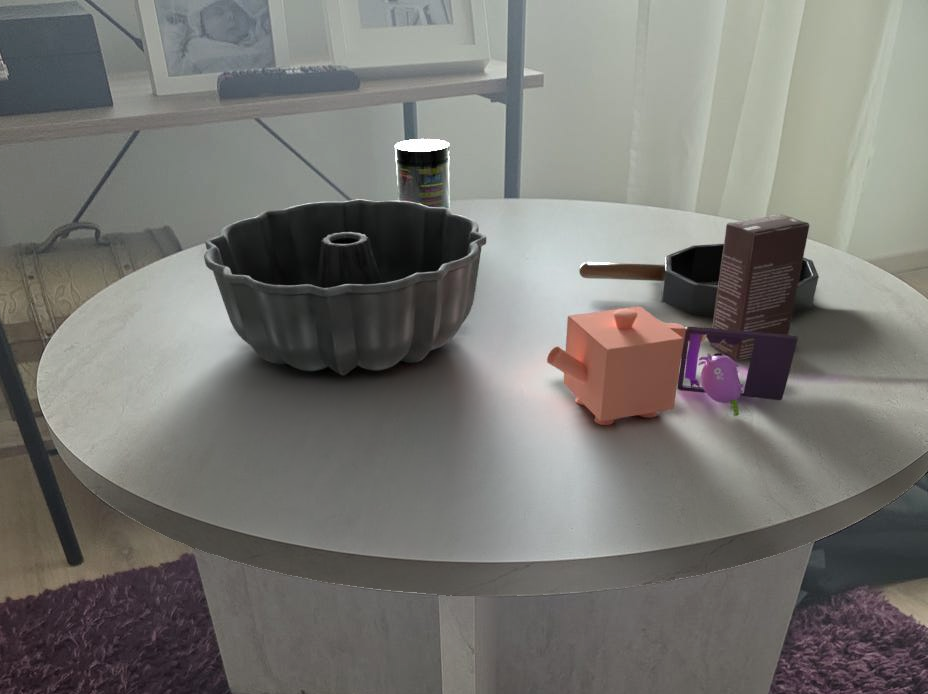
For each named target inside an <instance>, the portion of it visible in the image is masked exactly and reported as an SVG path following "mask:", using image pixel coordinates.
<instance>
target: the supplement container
mask: <svg viewBox="0 0 928 694" xmlns="http://www.w3.org/2000/svg"><path fill="white" fill-rule="evenodd" d="M394 150H395V152H394V153H395V165H396V184H397V186H396V187H397V201H407V202H414V203H419V204H422V205H425V206H428V207H435V208H448V209H450V210H451V202H450V143H449V142H447V141H445V140H440V139H430V138H429V139H428V138H427V139H424V138H421V139H419V138H418V139H409V140H403V141H400V142H397V143H396V144H395V145H394Z"/></svg>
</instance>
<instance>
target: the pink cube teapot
mask: <svg viewBox="0 0 928 694" xmlns="http://www.w3.org/2000/svg"><path fill="white" fill-rule="evenodd" d="M566 322H567V323H566V339H565V350H564V349H563V348H561V347H560V346H555V347H553V348H552V349H551V350H550V352H549V353H548V355H547V357H546V360H547V364H549V365H550V366H552V367H554V368H556V369H557V370H559V371H561V372H563V384H564V386H565V387H566V388H567V389H568V390H569V391H570V392H571V393H572V394H573V395H574V396H575V397H576V398H575V403H576V404H578V405H581V406H585V407H586V408H587V409H588V410H589V411H590V412H591V413H592V414H593V415H594V417H595V418H594V422H595V424H597V425H602V426H609V425H612V424H614V423H615V420H616V419H622V418H628V417H634V416H640V417H643V418H647V419H648V418H655V417H657V416H658V412H664V411H670V410H674V408H675V401H676V395H677V390H678V388H677V387H678V379H679V372H680V364H681V356H682V350H683V345H684V339H685V333H686V326H684V325H682V324H681V323H679V322H662V321H661V320H659V319H658V318H657V317H656V316H654V315H653V314H652V313H650V312H649V311H647V310H646V309H644V308H643V307H642V306H640V305H637V306H631V307H623V308H616V309H615V308H614V309H608V310H599V311H594V312H586V313H580V314H571V315H568V316H567V320H566Z"/></svg>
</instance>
